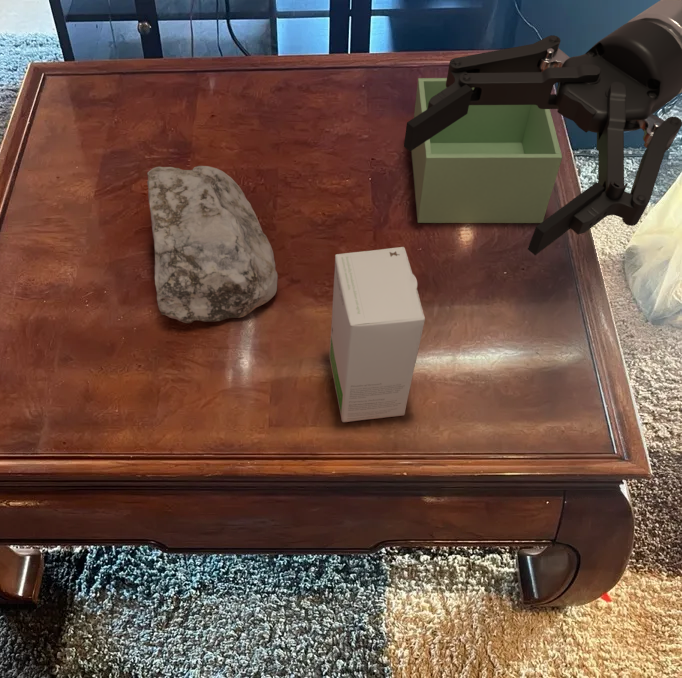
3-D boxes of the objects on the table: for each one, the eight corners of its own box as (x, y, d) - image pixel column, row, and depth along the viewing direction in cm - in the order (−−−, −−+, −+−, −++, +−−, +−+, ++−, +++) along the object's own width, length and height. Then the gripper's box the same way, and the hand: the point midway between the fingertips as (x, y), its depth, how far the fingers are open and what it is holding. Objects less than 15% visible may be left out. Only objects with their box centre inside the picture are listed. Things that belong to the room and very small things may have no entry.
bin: (542, 223, 92) (562, 157, 85) (417, 223, 93) (426, 157, 86) (525, 143, 101) (541, 77, 94) (410, 143, 102) (418, 78, 94)
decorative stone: (136, 200, 95) (141, 139, 87) (247, 199, 99) (262, 140, 90) (154, 342, 86) (161, 289, 78) (276, 335, 89) (295, 284, 81)
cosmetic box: (328, 356, 82) (330, 249, 70) (393, 349, 82) (406, 241, 70) (341, 426, 77) (346, 325, 65) (410, 418, 77) (427, 316, 65)
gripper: (757, 176, 66) (580, 318, 60) (529, 23, 77) (359, 131, 71) (804, 108, 60) (612, 259, 54) (548, -49, 70) (364, 63, 64)
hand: (468, 187), depth 62 cm, fingers open, 13 cm apart
